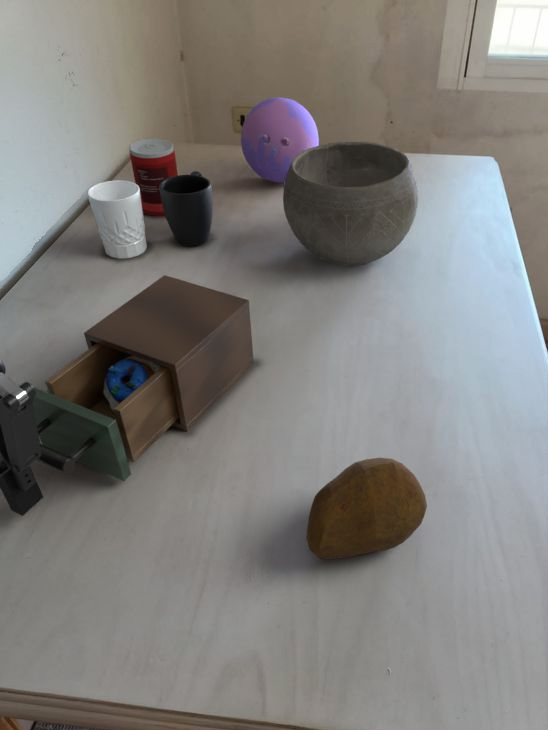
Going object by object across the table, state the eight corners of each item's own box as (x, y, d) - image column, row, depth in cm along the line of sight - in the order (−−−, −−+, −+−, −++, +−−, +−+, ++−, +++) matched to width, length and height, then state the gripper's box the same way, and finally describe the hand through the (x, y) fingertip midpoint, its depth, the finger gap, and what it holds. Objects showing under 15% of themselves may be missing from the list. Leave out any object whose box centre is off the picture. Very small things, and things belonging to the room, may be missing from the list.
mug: (227, 221, 113) (222, 167, 106) (209, 252, 104) (203, 196, 97) (182, 217, 113) (174, 164, 107) (161, 248, 105) (152, 192, 98)
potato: (293, 509, 64) (291, 449, 58) (403, 489, 66) (412, 429, 60) (312, 579, 58) (312, 519, 52) (433, 553, 60) (446, 494, 54)
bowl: (266, 270, 100) (261, 175, 90) (310, 216, 114) (310, 129, 104) (394, 293, 95) (404, 196, 85) (423, 234, 109) (434, 145, 99)
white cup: (110, 265, 100) (96, 204, 94) (95, 245, 105) (80, 186, 98) (157, 253, 104) (146, 193, 97) (140, 234, 108) (129, 176, 102)
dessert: (178, 370, 69) (135, 384, 65) (171, 419, 73) (130, 436, 68) (130, 339, 72) (86, 351, 68) (125, 388, 76) (83, 402, 71)
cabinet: (187, 431, 72) (175, 365, 66) (102, 398, 76) (83, 332, 70) (253, 363, 82) (249, 299, 75) (175, 337, 86) (164, 274, 79)
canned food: (168, 195, 121) (159, 135, 113) (190, 209, 116) (182, 147, 109) (132, 205, 117) (120, 144, 109) (153, 220, 112) (142, 157, 105)
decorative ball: (239, 194, 121) (232, 110, 111) (248, 165, 132) (243, 86, 122) (316, 196, 121) (317, 112, 111) (319, 166, 132) (320, 88, 122)
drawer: (93, 512, 62) (73, 457, 57) (10, 473, 66) (-16, 418, 61) (199, 406, 74) (191, 353, 69) (123, 378, 78) (110, 325, 73)
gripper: (-178, 295, 45) (-51, 505, 62) (-54, 345, 41) (48, 557, 57) (-87, 252, 50) (9, 457, 66) (33, 292, 46) (104, 501, 62)
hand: (27, 503), depth 62 cm, fingers closed
